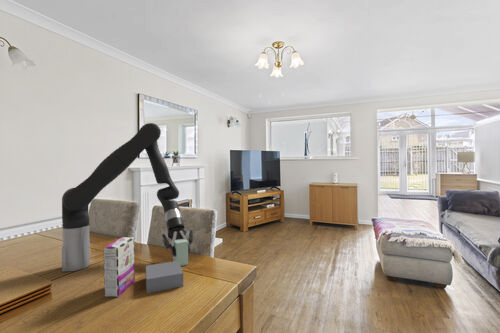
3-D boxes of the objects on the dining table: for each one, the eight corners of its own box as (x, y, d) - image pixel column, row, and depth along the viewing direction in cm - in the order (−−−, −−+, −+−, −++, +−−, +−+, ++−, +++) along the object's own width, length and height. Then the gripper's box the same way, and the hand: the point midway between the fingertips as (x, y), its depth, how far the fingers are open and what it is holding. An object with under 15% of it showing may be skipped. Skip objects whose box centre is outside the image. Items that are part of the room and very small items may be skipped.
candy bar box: (121, 281, 90) (121, 236, 90) (135, 281, 90) (135, 236, 90) (103, 297, 79) (102, 247, 79) (118, 297, 79) (118, 247, 79)
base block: (146, 294, 81) (146, 279, 81) (145, 278, 92) (145, 265, 92) (183, 287, 86) (183, 272, 86) (178, 273, 97) (178, 260, 97)
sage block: (176, 267, 102) (176, 243, 102) (173, 263, 106) (173, 240, 106) (188, 264, 105) (188, 241, 105) (184, 260, 109) (184, 238, 109)
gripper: (159, 218, 108) (166, 253, 98) (191, 214, 116) (200, 247, 106) (157, 227, 113) (163, 262, 103) (187, 223, 120) (196, 255, 110)
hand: (181, 254), depth 104 cm, fingers closed on sage block, 5 cm apart
